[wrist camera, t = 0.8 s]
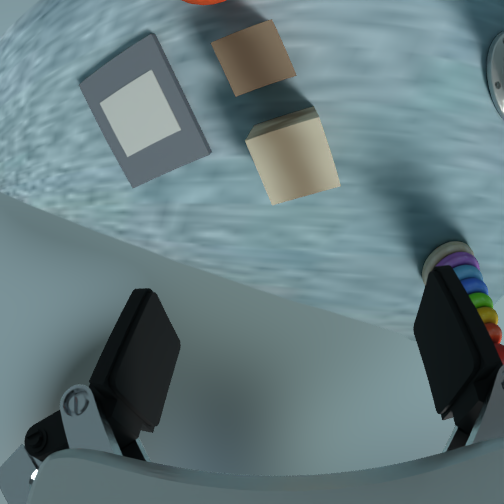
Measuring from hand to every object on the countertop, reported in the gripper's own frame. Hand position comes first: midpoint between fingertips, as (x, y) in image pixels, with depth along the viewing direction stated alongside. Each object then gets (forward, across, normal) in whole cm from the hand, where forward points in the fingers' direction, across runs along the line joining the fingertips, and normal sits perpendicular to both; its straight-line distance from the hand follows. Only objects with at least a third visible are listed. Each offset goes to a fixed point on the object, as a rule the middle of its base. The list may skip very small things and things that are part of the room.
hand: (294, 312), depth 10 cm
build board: (+22, +14, -6) cm, 27 cm away
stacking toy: (+21, -20, +16) cm, 33 cm away
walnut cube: (+22, +1, -9) cm, 23 cm away
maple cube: (+22, -1, 0) cm, 22 cm away
